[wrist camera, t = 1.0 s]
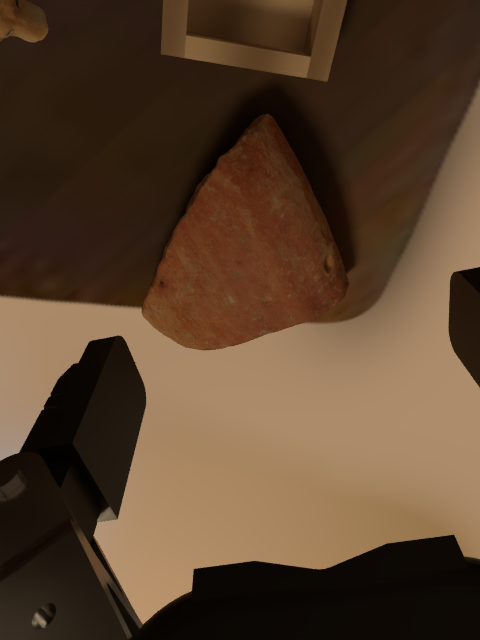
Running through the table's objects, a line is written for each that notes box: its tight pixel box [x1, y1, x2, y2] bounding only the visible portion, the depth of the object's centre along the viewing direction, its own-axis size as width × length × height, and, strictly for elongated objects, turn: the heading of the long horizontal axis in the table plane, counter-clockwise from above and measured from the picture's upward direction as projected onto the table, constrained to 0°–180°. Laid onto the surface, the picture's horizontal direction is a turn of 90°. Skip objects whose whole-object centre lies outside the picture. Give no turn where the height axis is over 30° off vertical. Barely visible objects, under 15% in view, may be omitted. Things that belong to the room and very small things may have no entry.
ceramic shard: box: [142, 114, 349, 350], centre depth 32 cm, size 15×6×15 cm
